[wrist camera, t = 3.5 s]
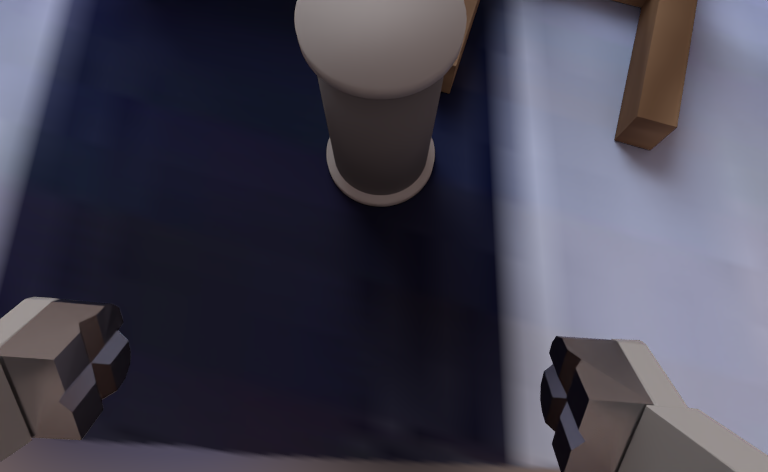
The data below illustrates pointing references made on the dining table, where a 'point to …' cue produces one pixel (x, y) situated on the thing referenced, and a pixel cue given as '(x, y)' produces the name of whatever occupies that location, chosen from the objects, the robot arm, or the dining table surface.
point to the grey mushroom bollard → (380, 87)
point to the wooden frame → (641, 69)
